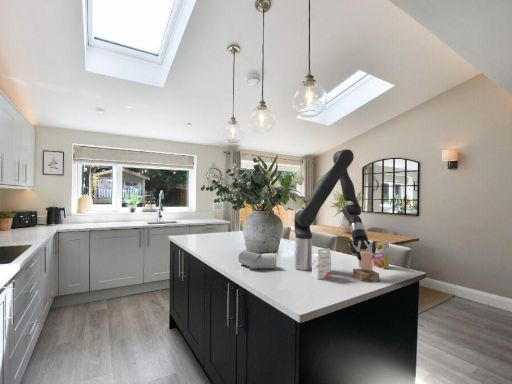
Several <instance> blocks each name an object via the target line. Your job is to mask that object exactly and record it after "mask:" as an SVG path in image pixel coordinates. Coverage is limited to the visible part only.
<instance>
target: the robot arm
mask: <svg viewBox="0 0 512 384" xmlns="http://www.w3.org/2000/svg"><path fill="white" fill-rule="evenodd" d="M332 156H333V157H332V161H333V166H332V167H331V168H330V169H329V170H328V171H327V172H326V173H324V175H322V176H321V178H320V179H319V180H318V182H317V183H316V185H315V186H314V188H313V190H312V194H311V196H310V199H309V202H308V203H307V204H306V206H304V208H302V209H300V210H297V211H296V212H295V214H294V235H295V250H294V268H295V269H296V270H299V269H300V271H310V270H311V271H312V254H313V233H312V231H311V225H312V224H314V221H315V219H316V217H317V215H318V213H319V211H320V210H321V208H322V206H323V204H324V203H325V202H326V201H327V199H328V198H329V196H330V195H331V193H332V191H333V190H334V188H335V187H336V185H337V184H338V182H339V183H340V185H341V186H340V187H341V193H342V197H343V198H342V199H343V200H344V201H345V202H352V203H353V204H351V203H350V204H346V205H344V206H343V207H342V209H341V211H342V214H343V216H344V217H345V219H346V220H347V222H348V225H349V231H350V235H351V238H352V241H348V244H347V246H348V247H349V250H350V251H351V253H352V254H356V257H357V260H358V262H359V261H361V259H362V258H361V254H360V252H359V251H361V250H364V251H370V252H372V253H373V254H374V253H375V251H376V246H375V242H373V241H372V242H371V241H370V240H369V238H368V235H367V232H366V229H365V226H364V223H363V221H362V217H360V215H361V214H362V211H363V210H362V207H361V205H360V204H359V201H358V198H357V196H356V195H357V194H356V189H355V186H354V182H353V181H352V179H351V177H350V175H349V172H348V168H349V166H350V165H351V164H352V163H353V162H354V156H355V155H354V153H353V151H352V150H351V149H349V148H348V149H347V148H345V149H341V150H338V151H336V152H335V153H334V154H333V155H332ZM354 246H355V247H354ZM373 259H374V257H373Z"/></svg>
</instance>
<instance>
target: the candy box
mask: <svg viewBox="0 0 512 384" xmlns="http://www.w3.org/2000/svg"><path fill="white" fill-rule="evenodd" d="M373 242H375V246H376V251H375V253H374V254H373V257H374V259H373V266H375V267H378V268H380V269H383V270H386V269H390V243H389V241H383V240H379V239H373V240H372V243H373Z"/></svg>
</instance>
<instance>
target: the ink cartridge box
mask: <svg viewBox="0 0 512 384" xmlns="http://www.w3.org/2000/svg"><path fill="white" fill-rule="evenodd" d="M331 256H332V254H331V248H320V249H317V253H312V269H311V277H312V278H313V279H316V280H322V279H328V278H332V259H331V258H332V257H331Z"/></svg>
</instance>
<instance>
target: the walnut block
mask: <svg viewBox="0 0 512 384" xmlns="http://www.w3.org/2000/svg"><path fill="white" fill-rule="evenodd" d="M352 277H354V278H356V279H357V280H358V281H360V282H380V273H379V272H377V271H375V270H373V269H362V268H352Z"/></svg>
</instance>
